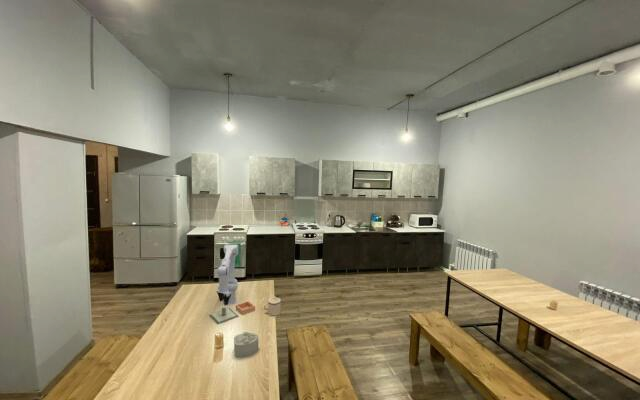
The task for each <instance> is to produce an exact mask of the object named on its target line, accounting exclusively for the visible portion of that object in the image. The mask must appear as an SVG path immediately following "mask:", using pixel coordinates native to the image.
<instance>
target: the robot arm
mask: <svg viewBox="0 0 640 400" xmlns="http://www.w3.org/2000/svg"><path fill="white" fill-rule="evenodd" d="M223 252H224V254H225V255H224V258H223V259H222V260H221V264H220V265H219V267H217V275H218V276H217V277H218V286H217V290H216V294H217V296H218V300H219V301H220V302H223V304H224V306H231V305H233V304H237V303H238V301H237V300H236V292H237V290H238V286H239V285H238V280H237V279H236V278H235V265H236V264H235V263H236V258H237V257H236V256H238V255H239V245H238V244H224V245H223Z"/></svg>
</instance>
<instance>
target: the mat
mask: <svg viewBox="0 0 640 400" xmlns="http://www.w3.org/2000/svg"><path fill="white" fill-rule="evenodd" d="M228 309H230V310H231V311H232V312H233V313H234V314H235V315H236V317H233V318H231V319H228V320H225V321H222V322H220V323H219V322H218V321H217V320H216V319H215V318H214V317H213V316H212V314H213V313H211V314H208V317H210V319H211V320H212V321H213V322H214V323H215V324H216V325H221V324H223V323H225V322H229V321H231V320H234V319H236V318H240V316H239V315H238V314H237V313H235V311H234V310H232V309H231V308H230V307H229V308H228Z"/></svg>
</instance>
